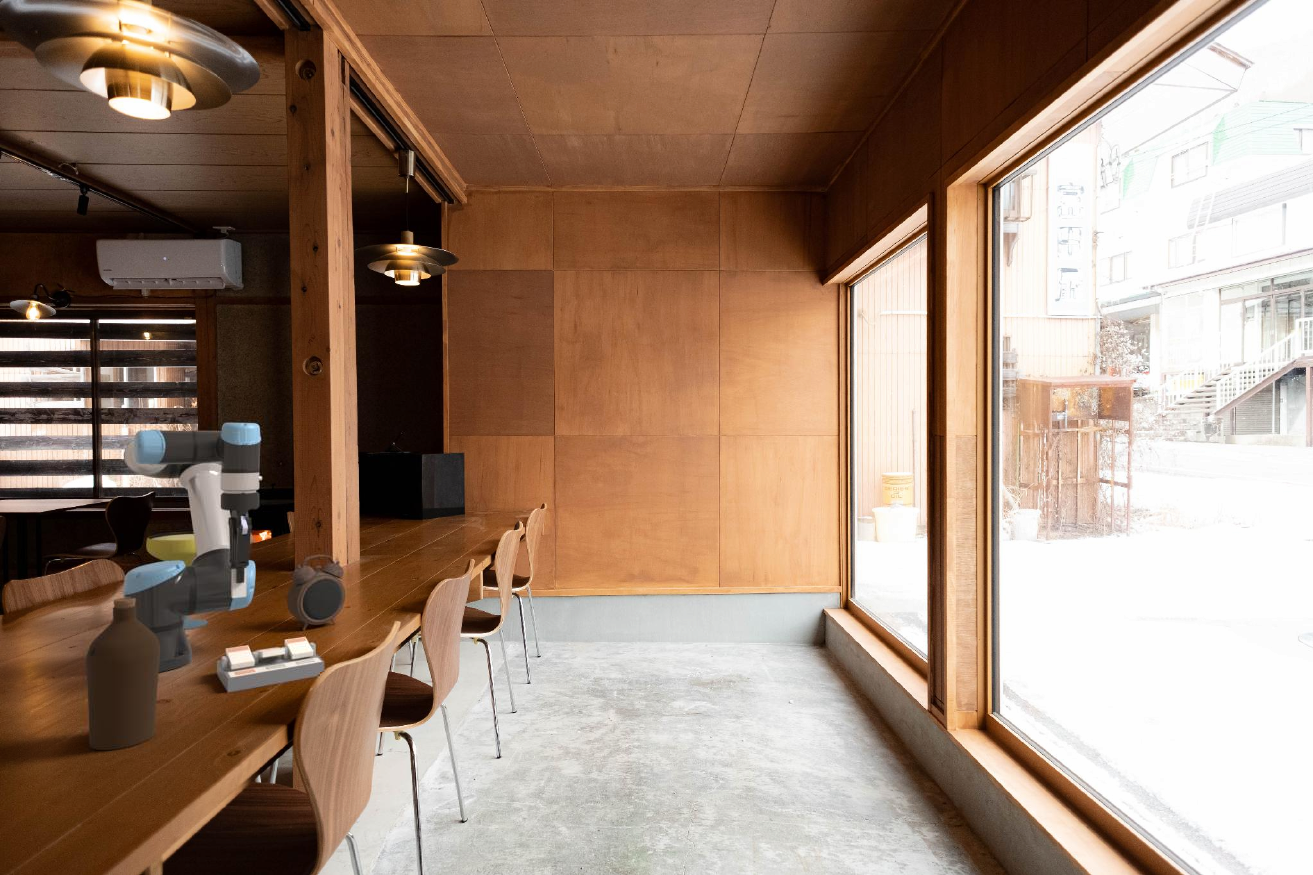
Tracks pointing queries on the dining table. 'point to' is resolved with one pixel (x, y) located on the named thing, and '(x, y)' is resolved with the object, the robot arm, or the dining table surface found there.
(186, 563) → the cocktail glass
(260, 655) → the middle switch
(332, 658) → the dining table surface
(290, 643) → the right switch
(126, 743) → the olive oil
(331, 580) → the alarm clock
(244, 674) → the switch unit
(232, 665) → the left switch
